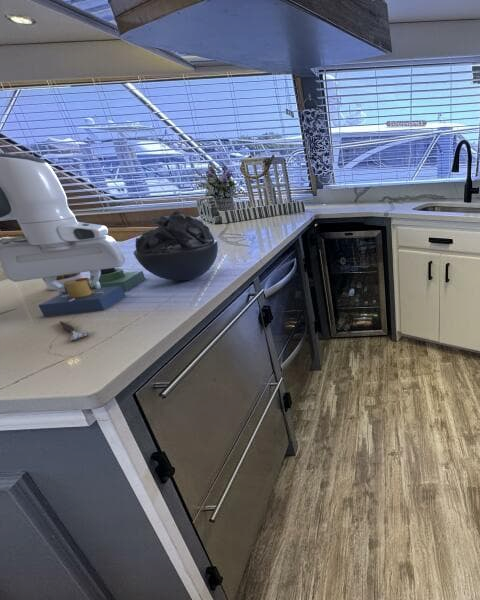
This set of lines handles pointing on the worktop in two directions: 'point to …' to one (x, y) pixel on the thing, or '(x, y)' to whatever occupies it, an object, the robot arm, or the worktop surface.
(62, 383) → the worktop surface
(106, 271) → the black round button
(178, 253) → the coal bowl
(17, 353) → the worktop surface
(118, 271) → the green stepped base
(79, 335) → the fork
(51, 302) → the dial panel
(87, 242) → the robot arm
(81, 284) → the dial
